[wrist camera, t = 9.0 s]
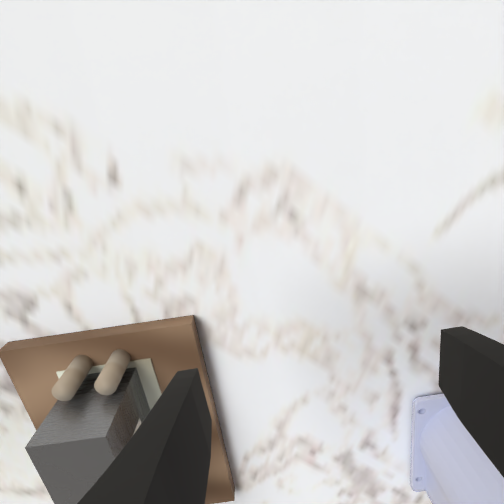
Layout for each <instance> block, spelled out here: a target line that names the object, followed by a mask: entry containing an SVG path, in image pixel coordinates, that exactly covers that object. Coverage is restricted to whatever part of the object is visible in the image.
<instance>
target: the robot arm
mask: <svg viewBox="0 0 504 504" xmlns="http://www.w3.org/2000/svg"><path fill="white" fill-rule="evenodd" d="M439 387H440V389H441V390H442V392H443V394H436V395H429V396H422V397H417V398H416V399H415V400H414V401H413V410H412V441H411V472H410V486H411V488H412V490H413V491H416V492H420V491H426V492H427V494H428V496H429V498H430V500H431V502H432V504H504V345H503V344H501V343H499V342H497V341H495V340H492V339H490V338H488V337H486V336H484V335H481V334H479V333H477V332H475V331H472V330H470V329H467V328H465V327H455V328H449V329H443V330H441V344H440V367H439ZM211 437H212V419H211V415H210V412H209V408H208V404H207V401H206V397H205V393H204V390H203V386H202V382H201V379H200V375H199V371H198V368H195V369H188V370H182V371H177V373H176V374H175V375H174V377H173V378H172V380H171V381H170V383H169V384H168V385H167V387H166V388H165V390H164V391H163V393H162V394H161V396H160V397H159V399H158V400H157V402H156V403H155V405H154V406H153V408H152V409H151V411H150V412H149V414H148V415H147V416H146V418H145V419H144V421H143V422H142V423H141V425H140V426H139V428H138V429H137V430H136V432H135V433H134V435H133V436H132V437H131V439H130V440H129V441H128V443H127V444H126V445H125V446H124V448H123V449H122V450H121V452H120V453H119V454H118V455H117V457H116V458H115V459H114V461H113V462H112V463H111V464H110V466H109V467H108V468H107V469H106V471H105V472H104V473H103V474H102V476H101V477H100V478H99V479H98V480H97V482H96V483H95V484H94V485H93V486H92V487H91V489H90V490H89V491H88V492H87V493H86V494H85V495H84V496H83V498H82V499H81V500H80V501H79V502H78V503H77V504H205V498H206V490H207V483H208V475H209V468H210V460H211Z"/></svg>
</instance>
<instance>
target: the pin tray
mask: <svg viewBox="0 0 504 504" xmlns="http://www.w3.org/2000/svg"><path fill="white" fill-rule="evenodd" d="M0 358H1V360H2V362H3V364H4V366H5V368H6V370H7V372H8V374H9V376H10V378H11V380H12V382H13V384H14V386H15V388H16V390H17V392H18V394H19V396H20V398H21V400H22V402H23V404H24V406H25V408H26V410H27V412H28V414H29V416H30V418H31V420H32V422H33V424H34V426H35V428H36V430H37V429H38V428H39V427H40V425H41V424H42V422H43V421H44V419H45V418H46V416H47V415H48V413H49V412H50V410H51V409H52V407H53V406H54V405H55V403H56V402H57V400H60V401H69V400H71V399H72V398H73V397H74V395H75V393H76V392H77V390H78V389H79V387H80V385H81V384H82V382H83V381H84V379H85V378H86V376H87V374H92V373H99V372H101V373H100V375H99V376H98V378H97V380H96V381H95V383H94V388H95V390H96V391H97V392H98V393H100V394H102V395H111V394H113V393H114V392H115V391H116V389H117V387H118V385H119V383H120V381H121V379H122V377H123V374H124V372H125V370H126V369H127V368H134V367H136V368H137V371H138V374H139V377H140V380H141V383H142V386H143V389H144V392H145V395H146V398H147V401H148V405H149V408H150V411H151V409H152V408H153V406H154V405H155V403H156V402H157V400H158V399H159V397H160V396H161V394H162V393H163V391H164V390H165V388H166V387H167V385H168V384H169V383H170V381H171V380H172V378H173V377H174V375H175V374H176V373H177V371H182V370H188V369H195V368H198V371H199V375H200V379H201V382H202V386H203V390H204V393H205V397H206V401H207V404H208V408H209V412H210V415H211V419H212V437H211V460H210V468H209V475H208V483H207V490H206V498H205V504H213V503H221V502H228V501H234V491H235V487H234V483H233V479H232V475H231V470H230V466H229V462H228V458H227V454H226V450H225V445H224V441H223V437H222V433H221V429H220V424H219V420H218V416H217V412H216V408H215V403H214V399H213V395H212V391H211V387H210V382H209V378H208V374H207V370H206V366H205V362H204V357H203V353H202V349H201V345H200V341H199V336H198V332H197V328H196V324H195V320H194V315H191V316H184V317H178V318H171V319H164V320H157V321H150V322H143V323H136V324H129V325H123V326H116V327H109V328H102V329H95V330H88V331H81V332H74V333H68V334H61V335H54V336H47V337H40V338H33V339H26V340H19V341H13V342H8V343H7V344H6V345H5V346H3V347H2V348H1V349H0Z"/></svg>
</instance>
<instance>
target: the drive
mask: <svg viewBox="0 0 504 504" xmlns="http://www.w3.org/2000/svg"><path fill="white" fill-rule="evenodd" d="M100 373H101V372H99V373H92V374H87V376H86V378H85V379H84V381H83V382H82V384H81V385H80V387H79V389H78V390H77V392H76V393H75V395H74V397H73V398H72V399H71V400H69V401H60V400H57V402H56V403H55V405H54V406H53V407H52V409H51V410H50V412H49V413H48V415H47V416H46V418H45V419H44V421H43V422H42V424H41V425H40V427H39V428H38V429H37V431H36V432H35V434H34V435H33V437H32V438H31V440H30V441H29V443H28V444H27V446H26V447H25V449H26V451H27V453H28V454H29V456H30V458H31V460H32V462H33V464H34V466H35V468H36V470H37V471H38V473H39V475H40V477H41V479H42V481H43V483H44V485H45V487H46V488H47V490H48V492H49V494H50V496H51V498H52V500H53V502H54V504H77V503H78V502H79V501H80V500H81V499H82V498H83V496H84V495H85V494H86V493H87V492H88V491H89V490H90V489H91V487H92V486H93V485H94V484H95V483H96V482H97V480H98V479H99V478H100V477H101V476H102V474H103V473H104V472H105V471H106V469H107V468H108V467H109V466H110V464H111V463H112V462H113V461H114V459H115V458H116V457H117V455H118V454H119V453H120V452H121V450H122V449H123V448H124V446H125V445H126V444H127V443H128V441H129V440H130V439H131V437H132V436H133V435H134V433H135V432H136V430H137V429H138V428H139V426H140V425H141V423H142V422H143V421H144V419H145V418H146V416H147V415H148V414H149V412H150V408H149V405H148V401H147V398H146V395H145V392H144V389H143V386H142V383H141V380H140V377H139V374H138V371H137V368H136V367H134V368H127V369H126V370H125V372H124V374H123V377H122V379H121V381H120V383H119V385H118V387H117V389H116V391H115V392H114V393H113V394H111V395H102V394H100V393H98V392H97V391H96V390H95V388H94V383H95V381H96V380H97V378H98V376H99V375H100Z"/></svg>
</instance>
